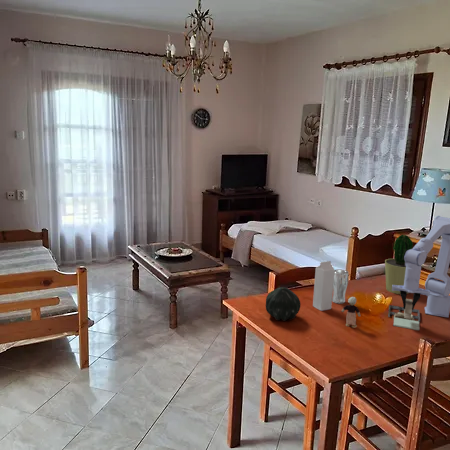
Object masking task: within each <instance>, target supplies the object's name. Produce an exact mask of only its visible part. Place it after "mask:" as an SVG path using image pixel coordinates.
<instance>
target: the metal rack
mask: <svg viewBox="0 0 450 450" xmlns="http://www.w3.org/2000/svg"><path fill="white" fill-rule="evenodd" d="M391 309H392V310H393V309H394V310H398V312H400V313H401V311H404V310H405V309H403V306H397V305H393V304H392V305H391V304H389V305H388V314H387V315H388V316H387V317H388V318H390V317H391V316H392V315H393V316H394V315H395V313H396V314H398V312H395V311H391ZM412 313H417V315H413V314H411V315H412V318H414V320H415V319H416V320H417V321H419V323H420V322H421V313H420V309H415V308H414V309H413V310H412Z"/></svg>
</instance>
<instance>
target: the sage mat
mask: <svg viewBox="0 0 450 450" xmlns="http://www.w3.org/2000/svg"><path fill="white" fill-rule="evenodd" d="M393 327H399V328H404V329H409V330H414V331H420V322H419V321H418V320H414V321H413V320H407V319H401V318H396V317H394V316H393Z"/></svg>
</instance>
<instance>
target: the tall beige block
mask: <svg viewBox="0 0 450 450" xmlns="http://www.w3.org/2000/svg"><path fill="white" fill-rule="evenodd" d="M412 302H413V299H409V298H406V303H405V310H403V311H404V312H403V313H404V318H407V319H411V315H412V313H413V312H412Z"/></svg>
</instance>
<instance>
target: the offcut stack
mask: <svg viewBox="0 0 450 450" xmlns="http://www.w3.org/2000/svg"><path fill="white" fill-rule="evenodd" d="M396 313H398V314H396ZM396 313H395V315H393V318H394V317H396V318H401V319H407V318H404V312H401V311H400V312H399V311H397V312H396ZM412 315H413V314H411V319H407V320H413V321H415V319H414V318H412Z"/></svg>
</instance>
